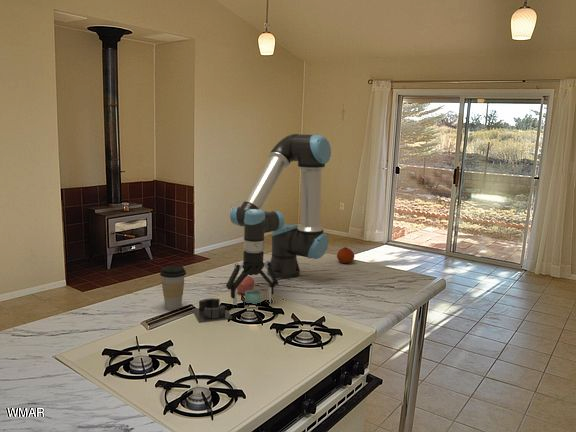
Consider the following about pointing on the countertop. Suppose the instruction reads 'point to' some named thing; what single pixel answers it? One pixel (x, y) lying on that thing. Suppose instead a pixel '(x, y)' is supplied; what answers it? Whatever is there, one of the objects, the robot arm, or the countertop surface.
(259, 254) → the robot arm
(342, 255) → the fruit
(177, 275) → the coffee cup
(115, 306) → the countertop surface
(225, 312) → the dark grey raised block
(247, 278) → the apple
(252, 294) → the cap
